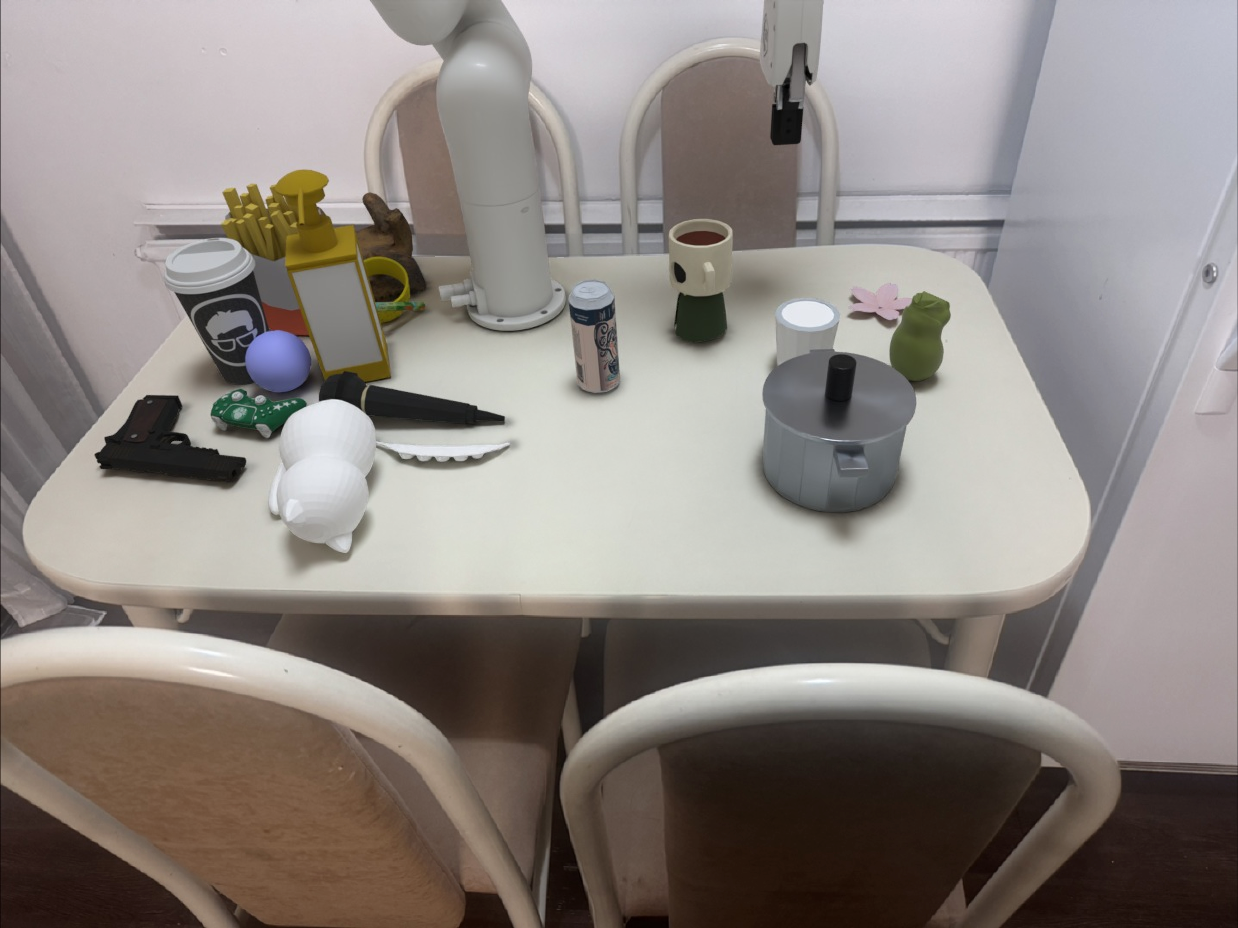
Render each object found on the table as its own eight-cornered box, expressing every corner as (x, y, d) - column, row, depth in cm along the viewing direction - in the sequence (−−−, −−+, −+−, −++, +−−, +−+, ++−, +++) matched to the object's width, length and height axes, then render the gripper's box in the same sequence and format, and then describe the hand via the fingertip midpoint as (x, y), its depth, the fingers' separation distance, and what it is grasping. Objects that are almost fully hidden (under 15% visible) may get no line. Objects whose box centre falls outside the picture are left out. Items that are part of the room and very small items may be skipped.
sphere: (333, 375, 99) (287, 369, 93) (292, 405, 102) (245, 401, 95) (310, 323, 101) (263, 314, 94) (271, 354, 103) (222, 347, 97)
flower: (818, 303, 107) (819, 292, 106) (879, 279, 111) (880, 268, 110) (874, 339, 100) (876, 327, 99) (937, 312, 104) (939, 301, 103)
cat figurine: (405, 420, 87) (387, 543, 77) (323, 472, 92) (298, 593, 83) (333, 370, 81) (304, 495, 72) (251, 429, 87) (213, 552, 77)
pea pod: (502, 452, 86) (504, 466, 86) (510, 436, 90) (511, 450, 91) (355, 451, 87) (357, 466, 87) (369, 436, 91) (371, 450, 92)
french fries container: (339, 337, 107) (295, 199, 95) (258, 335, 109) (204, 199, 97) (353, 318, 111) (312, 182, 99) (273, 316, 112) (223, 182, 100)
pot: (773, 535, 78) (779, 464, 72) (754, 412, 91) (758, 345, 86) (915, 532, 77) (932, 460, 72) (875, 409, 91) (887, 340, 85)
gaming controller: (298, 382, 94) (269, 422, 90) (311, 407, 97) (283, 446, 93) (226, 371, 96) (195, 410, 92) (241, 395, 99) (211, 434, 95)
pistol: (290, 420, 96) (232, 489, 87) (150, 405, 99) (79, 471, 90) (284, 403, 95) (225, 471, 86) (142, 388, 98) (70, 453, 88)
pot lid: (770, 453, 74) (773, 411, 71) (755, 363, 85) (757, 322, 82) (931, 448, 74) (941, 405, 71) (896, 358, 84) (903, 317, 81)
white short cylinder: (770, 350, 100) (773, 296, 95) (830, 349, 99) (837, 296, 95) (773, 385, 95) (777, 330, 90) (836, 385, 94) (844, 330, 90)
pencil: (322, 299, 95) (422, 299, 111) (316, 306, 96) (417, 304, 112) (328, 309, 95) (428, 307, 111) (322, 315, 95) (422, 312, 112)
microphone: (512, 394, 95) (334, 369, 96) (502, 392, 89) (313, 366, 90) (505, 443, 95) (328, 418, 96) (496, 444, 90) (307, 418, 90)
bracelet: (385, 317, 106) (387, 332, 109) (420, 273, 110) (422, 288, 113) (334, 291, 107) (337, 306, 110) (370, 247, 110) (373, 263, 113)
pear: (875, 374, 95) (889, 294, 89) (907, 355, 98) (922, 276, 91) (917, 396, 92) (934, 315, 85) (948, 377, 94) (967, 296, 88)
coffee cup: (307, 352, 105) (266, 238, 96) (258, 397, 99) (210, 281, 89) (242, 341, 108) (197, 230, 98) (191, 385, 101) (137, 270, 92)
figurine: (380, 177, 123) (425, 235, 110) (398, 225, 129) (442, 286, 115) (290, 210, 120) (325, 274, 107) (312, 258, 126) (348, 324, 112)
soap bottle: (328, 417, 95) (256, 215, 79) (326, 355, 104) (262, 164, 89) (394, 403, 96) (336, 202, 81) (386, 344, 105) (333, 153, 90)
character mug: (663, 313, 107) (660, 214, 99) (719, 306, 108) (721, 207, 99) (679, 361, 99) (678, 259, 91) (740, 354, 100) (744, 251, 91)
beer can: (615, 397, 95) (608, 302, 87) (573, 394, 96) (562, 299, 88) (624, 372, 98) (617, 278, 90) (583, 369, 99) (573, 276, 91)
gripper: (750, -57, 91) (744, 120, 103) (769, -24, 80) (760, 170, 92) (822, -62, 91) (807, 116, 103) (851, -29, 80) (831, 166, 92)
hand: (785, 141), depth 97 cm, fingers closed
